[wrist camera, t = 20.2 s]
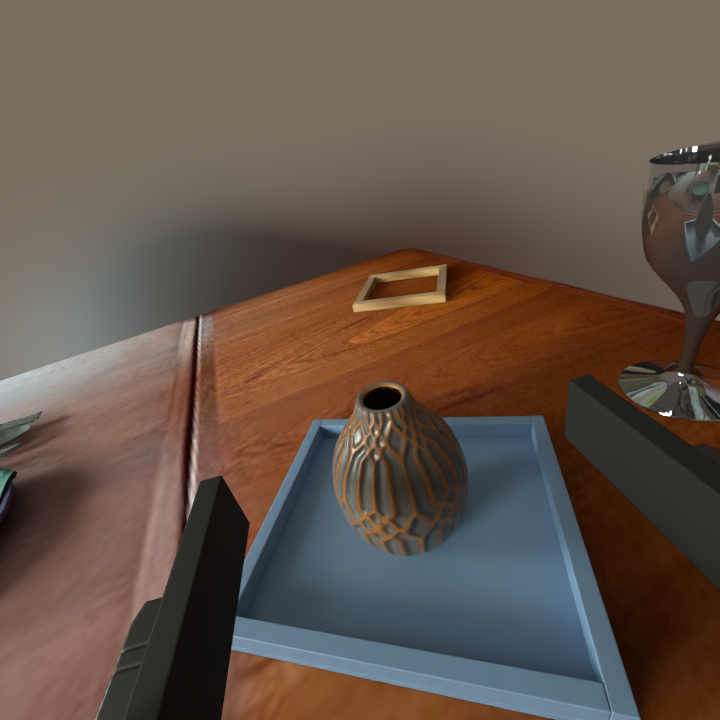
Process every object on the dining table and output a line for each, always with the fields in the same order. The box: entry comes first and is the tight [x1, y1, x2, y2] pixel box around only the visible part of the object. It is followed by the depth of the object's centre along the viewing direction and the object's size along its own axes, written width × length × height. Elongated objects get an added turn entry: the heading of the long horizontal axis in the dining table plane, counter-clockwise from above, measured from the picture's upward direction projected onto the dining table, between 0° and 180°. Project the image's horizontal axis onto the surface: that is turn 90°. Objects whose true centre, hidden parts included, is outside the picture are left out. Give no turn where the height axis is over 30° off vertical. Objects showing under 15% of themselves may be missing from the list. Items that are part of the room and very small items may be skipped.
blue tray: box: [231, 416, 641, 720], centre depth 20 cm, size 17×15×2 cm
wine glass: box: [618, 141, 720, 421], centre depth 21 cm, size 8×8×15 cm
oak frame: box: [353, 264, 447, 312], centre depth 53 cm, size 13×13×1 cm
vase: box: [333, 382, 468, 556], centre depth 18 cm, size 7×7×9 cm
